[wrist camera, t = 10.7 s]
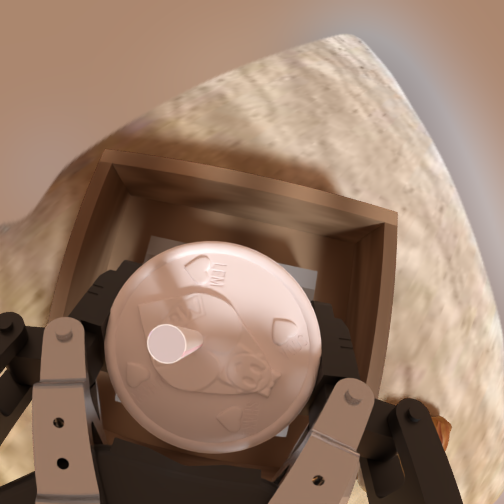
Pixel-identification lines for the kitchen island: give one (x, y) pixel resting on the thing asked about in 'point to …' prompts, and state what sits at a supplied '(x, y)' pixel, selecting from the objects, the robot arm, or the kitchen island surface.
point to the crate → (242, 233)
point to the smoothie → (212, 347)
